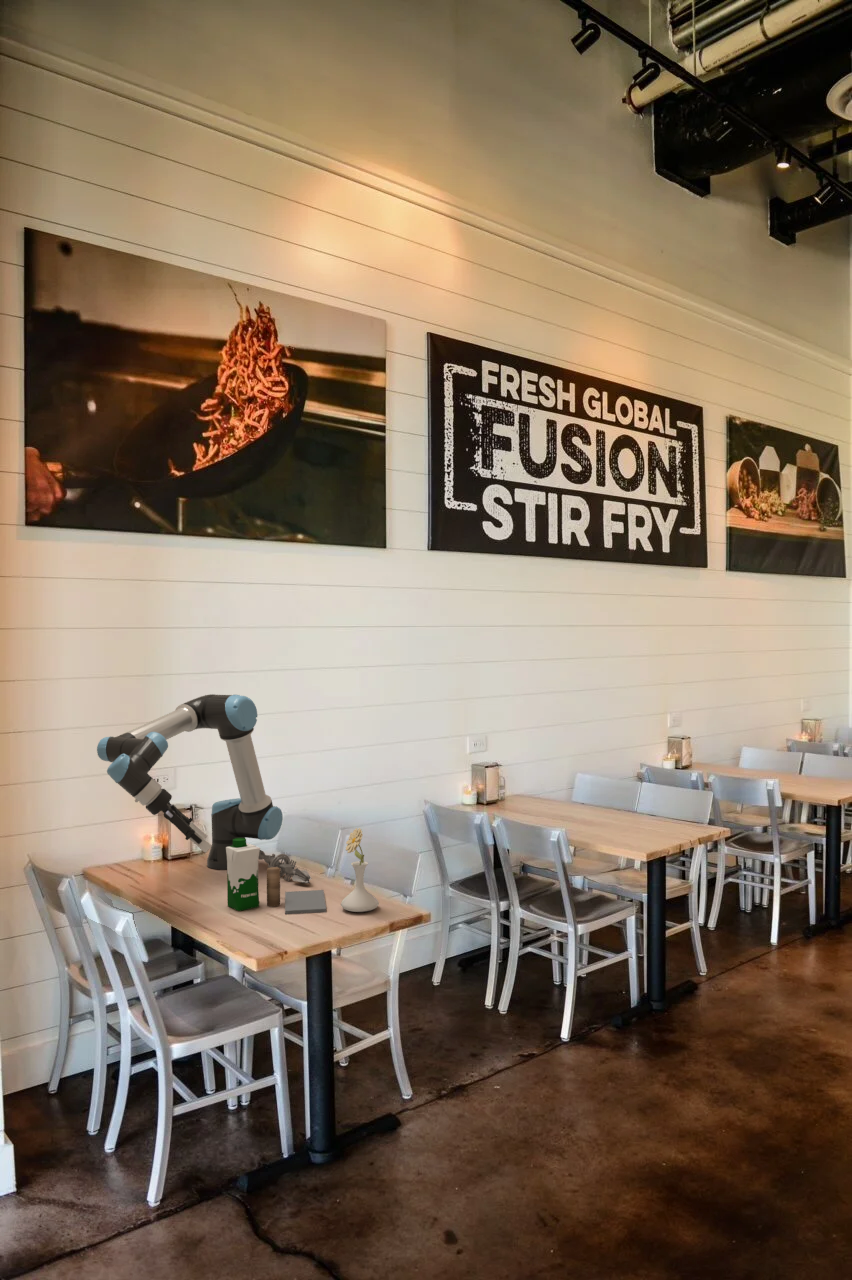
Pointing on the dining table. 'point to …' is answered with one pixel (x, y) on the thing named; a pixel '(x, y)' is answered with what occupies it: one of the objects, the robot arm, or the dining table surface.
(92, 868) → the dining table surface
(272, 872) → the wooden pepper mill
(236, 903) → the soya milk
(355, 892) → the flower in vase
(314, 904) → the slate mat
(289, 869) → the spaceship
